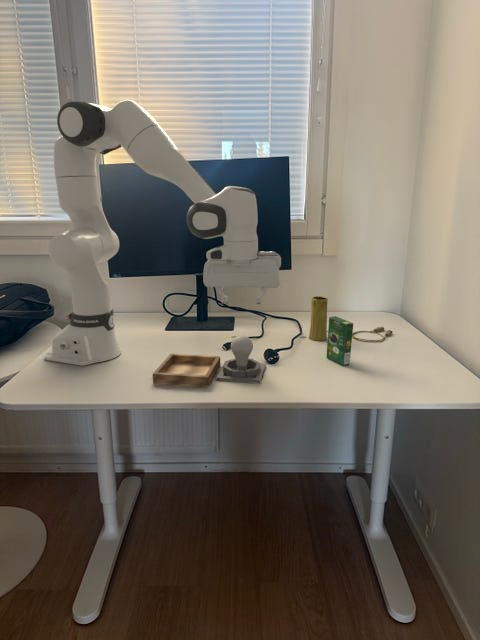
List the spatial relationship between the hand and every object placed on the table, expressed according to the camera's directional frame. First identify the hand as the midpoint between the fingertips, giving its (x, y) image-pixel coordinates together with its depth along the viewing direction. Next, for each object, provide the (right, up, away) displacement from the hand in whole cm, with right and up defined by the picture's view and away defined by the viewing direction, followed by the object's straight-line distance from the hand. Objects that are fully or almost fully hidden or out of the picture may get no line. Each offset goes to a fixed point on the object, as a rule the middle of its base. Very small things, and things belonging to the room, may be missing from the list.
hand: (242, 303), depth 118 cm
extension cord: (+46, -11, +36) cm, 60 cm away
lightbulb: (0, -20, +6) cm, 20 cm away
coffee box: (+29, -17, +14) cm, 36 cm away
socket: (0, -19, +6) cm, 20 cm away
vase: (+26, -11, +34) cm, 45 cm away
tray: (-15, -20, +5) cm, 25 cm away
